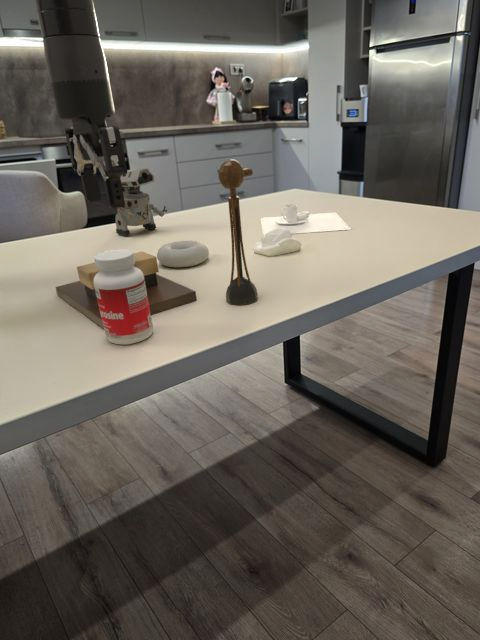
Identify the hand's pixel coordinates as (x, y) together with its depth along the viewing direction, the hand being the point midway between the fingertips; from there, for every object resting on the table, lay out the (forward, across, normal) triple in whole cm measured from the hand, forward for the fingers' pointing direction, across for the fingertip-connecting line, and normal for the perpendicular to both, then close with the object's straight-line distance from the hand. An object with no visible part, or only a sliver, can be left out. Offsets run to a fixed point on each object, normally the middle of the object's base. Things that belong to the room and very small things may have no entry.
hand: (105, 203), depth 71 cm
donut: (+15, +9, -17) cm, 24 cm away
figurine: (+15, +40, -23) cm, 48 cm away
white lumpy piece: (+15, +1, -34) cm, 37 cm away
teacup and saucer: (+15, +14, -54) cm, 58 cm away
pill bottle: (+15, -16, +6) cm, 22 cm away
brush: (+13, -1, 0) cm, 13 cm away
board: (+15, -1, 0) cm, 15 cm away
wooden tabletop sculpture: (+15, -16, -12) cm, 25 cm away
